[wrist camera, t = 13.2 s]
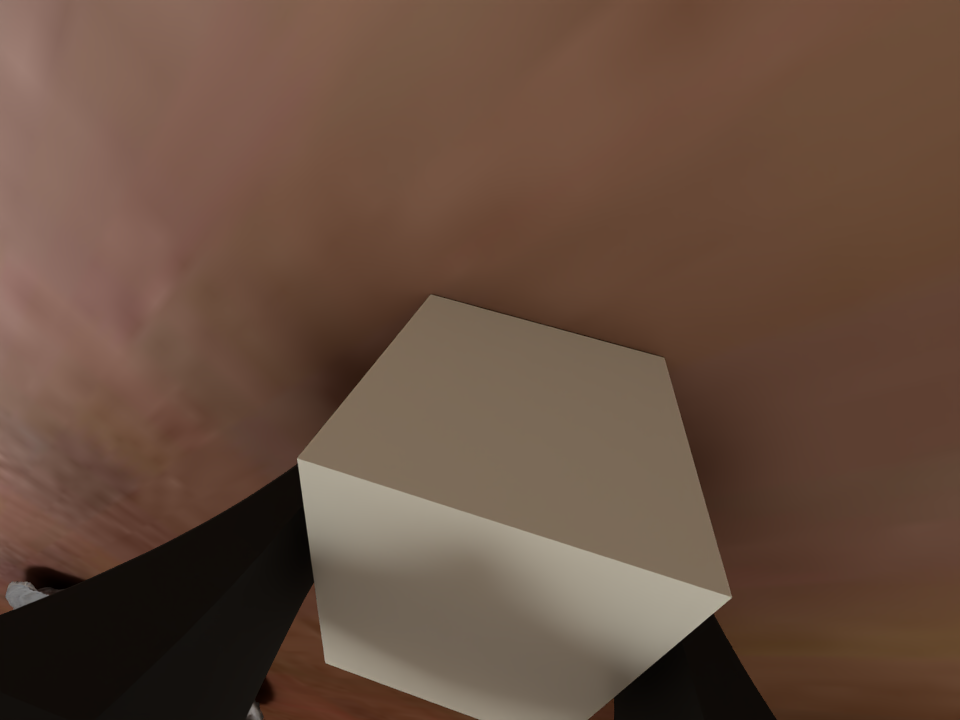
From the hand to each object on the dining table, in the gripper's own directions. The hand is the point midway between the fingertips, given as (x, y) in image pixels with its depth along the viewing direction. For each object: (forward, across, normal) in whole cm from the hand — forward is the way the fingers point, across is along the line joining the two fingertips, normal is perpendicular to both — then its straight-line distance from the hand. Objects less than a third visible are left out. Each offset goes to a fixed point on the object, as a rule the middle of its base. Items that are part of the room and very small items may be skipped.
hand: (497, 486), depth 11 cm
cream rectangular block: (+2, 0, 0) cm, 2 cm away
